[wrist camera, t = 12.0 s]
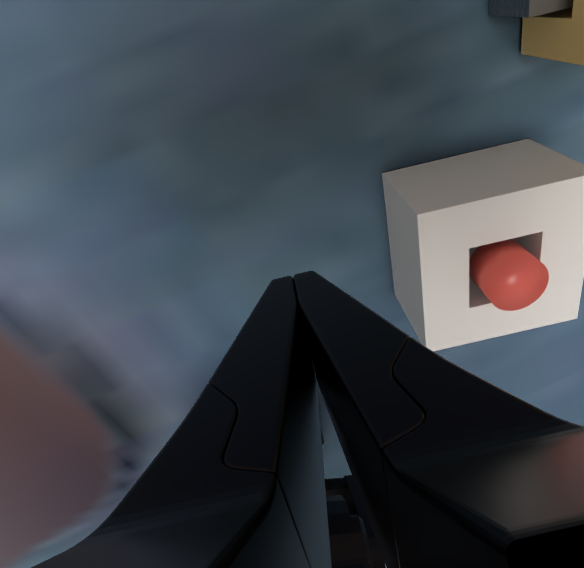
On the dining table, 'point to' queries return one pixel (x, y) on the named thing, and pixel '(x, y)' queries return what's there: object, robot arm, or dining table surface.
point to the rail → (526, 7)
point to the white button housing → (484, 238)
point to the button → (508, 274)
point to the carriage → (556, 35)
